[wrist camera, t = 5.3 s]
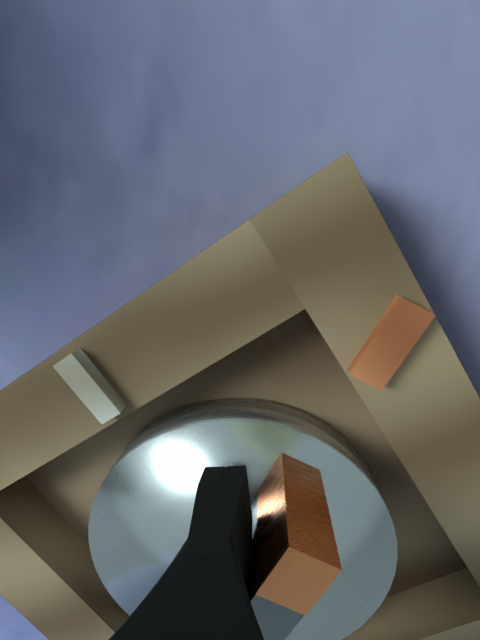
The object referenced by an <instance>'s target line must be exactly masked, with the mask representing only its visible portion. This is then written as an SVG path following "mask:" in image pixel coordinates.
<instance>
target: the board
mask: <svg viewBox="0 0 480 640" xmlns="http://www.w3.org/2000/svg"><path fill="white" fill-rule="evenodd" d="M226 398H241V399H255V400H262V401H269V402H273V403H277V404H281V405H285V406H288V407H291V408H294V409H296V410H299V411H301V412H304V413H307V414H309V415H311V416H312V417H314V418H316V419H318V420H320V421H322V422H324V423H325V424H327V425H328V426H330V427H331V428H332V429H334V430H335V431H336V432H338V433H339V434H341V435H342V436H343V437H344V438H345V439H346V440H347V441H348V442H349V443H350V444H351V445H352V446H353V447H354V448H355V449H356V450H357V451H358V453H359V454H360V455H361V456H362V458H363V459H364V460H365V462H366V463H367V465H368V467H369V469H370V470H371V472H372V474H373V476H374V478H375V480H376V483H377V485H378V487H379V490H380V492H381V494H382V497H383V499H384V501H385V504H386V506H387V508H388V511H389V514H390V516H391V519H392V521H393V524H394V528H395V533H396V538H397V552H398V559H397V565H396V571H395V576H394V579H393V581H392V584H391V587H390V590H389V591H388V593H387V595H386V597H385V599H384V601H383V602H382V604H381V605H380V606H379V608H378V609H377V610H376V612H375V613H374V614H373V615H372V616H371V617H370V618H369V619H368V620H367V621H366V622H365V623H364V624H363V625H362V626H361V627H360V628H358V629H357V630H356V631H354V632H353V633H351V634H350V635H349V636H347V637H345V638H344V639H342V640H480V398H479V396H478V394H477V392H476V390H475V389H474V387H473V385H472V383H471V381H470V379H469V377H468V376H467V374H466V372H465V370H464V368H463V366H462V364H461V362H460V361H459V359H458V357H457V355H456V353H455V351H454V349H453V347H452V346H451V344H450V342H449V340H448V338H447V336H446V334H445V333H444V331H443V329H442V327H441V325H440V323H439V321H438V319H437V318H436V316H435V314H434V312H433V310H432V308H431V306H430V305H429V303H428V301H427V299H426V297H425V295H424V293H423V291H422V290H421V288H420V286H419V284H418V282H417V280H416V278H415V276H414V275H413V273H412V271H411V269H410V267H409V265H408V263H407V262H406V260H405V258H404V256H403V254H402V252H401V250H400V248H399V247H398V245H397V243H396V241H395V239H394V237H393V235H392V233H391V232H390V230H389V228H388V226H387V224H386V222H385V220H384V219H383V217H382V215H381V213H380V211H379V209H378V207H377V205H376V204H375V202H374V200H373V198H372V196H371V194H370V192H369V191H368V189H367V187H366V185H365V183H364V181H363V179H362V177H361V176H360V174H359V172H358V170H357V168H356V166H355V164H354V162H353V161H352V159H351V157H350V155H349V153H348V152H346V153H345V154H344V155H342V156H341V157H339V158H338V159H336V160H335V161H333V162H332V163H330V164H329V165H328V166H326V167H325V168H323V169H322V170H320V171H319V172H317V173H316V174H314V175H313V176H312V177H310V178H309V179H307V180H306V181H304V182H303V183H301V184H300V185H298V186H297V187H296V188H294V189H293V190H291V191H290V192H288V193H287V194H285V195H284V196H282V197H281V198H280V199H278V200H277V201H275V202H274V203H272V204H271V205H269V206H268V207H266V208H265V209H264V210H262V211H261V212H259V213H258V214H256V215H255V216H253V217H252V218H250V219H249V220H248V221H246V222H245V223H243V224H242V225H240V226H239V227H237V228H236V229H234V230H233V231H232V232H230V233H229V234H227V235H226V236H224V237H223V238H221V239H220V240H218V241H217V242H216V243H214V244H213V245H211V246H210V247H208V248H207V249H205V250H204V251H202V252H201V253H200V254H198V255H197V256H195V257H194V258H192V259H191V260H189V261H188V262H186V263H185V264H184V265H182V266H181V267H179V268H178V269H176V270H175V271H173V272H172V273H170V274H169V275H168V276H166V277H165V278H163V279H162V280H160V281H159V282H157V283H156V284H154V285H153V286H152V287H150V288H149V289H147V290H146V291H144V292H143V293H141V294H140V295H138V296H137V297H136V298H134V299H133V300H131V301H130V302H128V303H127V304H125V305H124V306H122V307H121V308H120V309H118V310H117V311H115V312H114V313H112V314H111V315H109V316H108V317H106V318H105V319H104V320H102V321H101V322H99V323H98V324H96V325H95V326H93V327H92V328H90V329H89V330H88V331H86V332H85V333H83V334H82V335H80V336H79V337H77V338H76V339H74V340H73V341H72V342H70V343H69V344H67V345H66V346H64V347H63V348H61V349H60V350H58V351H57V352H56V353H54V354H53V355H51V356H50V357H48V358H47V359H45V360H44V361H42V362H41V363H40V364H38V365H37V366H35V367H34V368H32V369H31V370H29V371H28V372H26V373H25V374H24V375H22V376H21V377H19V378H18V379H16V380H15V381H13V382H12V383H10V384H9V385H8V386H6V387H5V388H3V389H2V390H0V594H1V595H2V596H3V597H4V598H5V599H6V600H7V601H8V602H9V603H10V604H11V605H12V606H13V607H15V608H16V609H17V610H18V611H19V612H20V613H21V614H22V615H23V616H24V617H25V618H26V619H27V620H28V621H30V622H31V623H32V624H33V625H34V626H35V627H36V628H37V629H38V630H39V631H40V632H41V633H42V634H43V635H45V636H46V637H47V638H48V639H49V640H108V639H109V638H110V637H111V636H112V635H113V634H114V633H115V632H116V631H117V630H118V629H119V628H120V627H121V625H122V624H123V623H124V622H125V621H126V620H127V619H128V617H129V616H130V615H129V614H127V613H126V612H125V611H124V610H123V609H122V608H121V607H120V606H119V604H118V603H117V602H116V601H115V600H114V599H113V598H112V596H111V595H110V593H109V592H108V591H107V589H106V588H105V586H104V585H103V583H102V581H101V579H100V577H99V575H98V573H97V571H96V569H95V566H94V563H93V560H92V557H91V552H90V547H89V541H88V524H89V518H90V511H91V508H92V505H93V502H94V499H95V496H96V494H97V492H98V491H99V489H100V487H101V485H102V483H103V481H104V480H105V478H106V476H107V475H108V473H109V472H110V470H111V468H112V467H113V465H114V463H115V462H116V460H117V458H118V457H119V455H120V454H121V452H122V451H123V449H124V448H125V447H126V446H127V444H128V443H129V442H130V440H131V439H132V438H133V437H134V436H135V435H137V434H138V433H139V432H140V431H141V430H142V429H143V428H144V427H146V426H147V425H149V424H150V423H151V422H153V421H154V420H156V419H157V418H159V417H161V416H163V415H165V414H167V413H169V412H171V411H173V410H176V409H178V408H181V407H184V406H187V405H190V404H194V403H198V402H203V401H208V400H216V399H226Z"/></svg>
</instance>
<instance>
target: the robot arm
mask: <svg viewBox="0 0 480 640" xmlns="http://www.w3.org/2000/svg"><path fill="white" fill-rule="evenodd" d="M251 554H252V509H251V501H250V493H249V485H248V477H247V469H246V465H243V466H227V467H224V466H220V467H205V469H204V471H203V473H202V475H201V478H200V480H199V483H198V487H197V492H196V497H195V502H194V507H193V513H192V518H191V524H190V529H189V535H188V538H187V540H186V541H185V543H184V544H183V546H182V547H181V549H180V551H179V552H178V554H177V555H176V556H175V558H174V559H173V561H172V562H171V564H170V565H169V567H168V568H167V569H166V571H165V572H164V573H163V575H162V576H161V577H160V579H159V580H158V581H157V583H156V584H155V585H154V587H153V588H152V589H151V590H150V592H149V593H148V594H147V595H146V597H145V598H144V599H143V600H142V602H141V603H140V604H139V605H138V607H137V608H136V609H135V610H134V611H133V613H132V614H131V615H130V616H129V617H128V619H127V620H126V621H125V622H124V623H123V624H122V625H121V627H120V628H119V629H118V630H117V631H116V632H115V633H114V634H113V635H112V636H111V637H110V638H109V639H108V640H264V638H263V635H262V632H261V630H260V627H259V624H258V621H257V619H256V616H255V613H254V610H253V607H252V604H251V601H250V598H249V595H248V583H249V573H250V564H251Z"/></svg>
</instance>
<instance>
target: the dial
mask: <svg viewBox="0 0 480 640" xmlns="http://www.w3.org/2000/svg"><path fill="white" fill-rule="evenodd" d="M243 465H246V469H247V477H248V485H249V493H250V501H251V509H252V554H251V564H250V573H249V583H248V595H249V598H250V601H251V604H252V607H253V610H254V613H255V616H256V619H257V621H258V624H259V627H260V630H261V632H262V635H263V638H264V640H342V639H344V638H345V637H347V636H349V635H350V634H351V633H353V632H354V631H356V630H357V629H358V628H360V627H361V626H362V625H363V624H364V623H365V622H366V621H367V620H368V619H369V618H370V617H371V616H372V615H373V614H374V613H375V612H376V610H377V609H378V608H379V606H380V605H381V604H382V602H383V601H384V599H385V597H386V595H387V593H388V591H389V590H390V587H391V584H392V581H393V579H394V576H395V571H396V565H397V559H398V552H397V538H396V533H395V528H394V524H393V521H392V519H391V516H390V514H389V511H388V508H387V506H386V504H385V501H384V499H383V497H382V494H381V492H380V490H379V487H378V485H377V483H376V480H375V478H374V476H373V474H372V472H371V470H370V469H369V467H368V465H367V463H366V462H365V460H364V459H363V458H362V456H361V455H360V454H359V453H358V451H357V450H356V449H355V448H354V447H353V446H352V445H351V444H350V443H349V442H348V441H347V440H346V439H345V438H344V437H343V436H342V435H341V434H339V433H338V432H336V431H335V430H334V429H332V428H331V427H330V426H328V425H327V424H325V423H324V422H322V421H320V420H318V419H316V418H314V417H312V416H311V415H309V414H307V413H304V412H301V411H299V410H296V409H294V408H291V407H288V406H285V405H281V404H277V403H273V402H269V401H262V400H255V399H241V398H226V399H216V400H208V401H203V402H198V403H194V404H190V405H187V406H184V407H181V408H178V409H176V410H173V411H171V412H169V413H167V414H165V415H163V416H161V417H159V418H157V419H156V420H154V421H153V422H151V423H150V424H149V425H147V426H146V427H144V428H143V429H142V430H141V431H140V432H139V433H138V434H137V435H135V436H134V437H133V438H132V439H131V440H130V442H129V443H128V444H127V446H126V447H125V448H124V449H123V451H122V452H121V454H120V455H119V457H118V458H117V460H116V462H115V463H114V465H113V467H112V468H111V470H110V472H109V473H108V475H107V476H106V478H105V480H104V481H103V483H102V485H101V487H100V489H99V491H98V492H97V494H96V496H95V499H94V502H93V505H92V508H91V511H90V518H89V524H88V541H89V547H90V552H91V557H92V560H93V563H94V566H95V569H96V571H97V573H98V575H99V577H100V579H101V581H102V583H103V585H104V586H105V588H106V589H107V591H108V592H109V593H110V595H111V596H112V598H113V599H114V600H115V601H116V602H117V603H118V604H119V606H120V607H121V608H122V609H123V610H124V611H125V612H126V613H127V614H129V615H131V614H132V613H133V611H134V610H135V609H136V608H137V607H138V605H139V604H140V603H141V602H142V600H143V599H144V598H145V597H146V595H147V594H148V593H149V592H150V590H151V589H152V588H153V587H154V585H155V584H156V583H157V581H158V580H159V579H160V577H161V576H162V575H163V573H164V572H165V571H166V569H167V568H168V567H169V565H170V564H171V562H172V561H173V559H174V558H175V556H176V555H177V554H178V552H179V551H180V549H181V547H182V546H183V544H184V543H185V541H186V540H187V538H188V535H189V529H190V524H191V518H192V513H193V507H194V502H195V497H196V492H197V487H198V483H199V480H200V478H201V475H202V473H203V471H204V469H205V467H220V466H224V467H227V466H243Z"/></svg>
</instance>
